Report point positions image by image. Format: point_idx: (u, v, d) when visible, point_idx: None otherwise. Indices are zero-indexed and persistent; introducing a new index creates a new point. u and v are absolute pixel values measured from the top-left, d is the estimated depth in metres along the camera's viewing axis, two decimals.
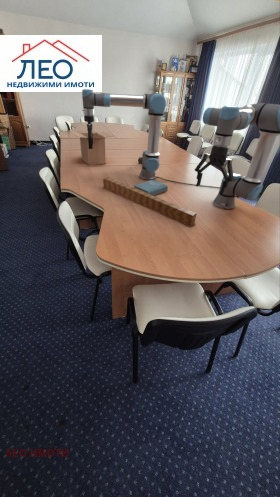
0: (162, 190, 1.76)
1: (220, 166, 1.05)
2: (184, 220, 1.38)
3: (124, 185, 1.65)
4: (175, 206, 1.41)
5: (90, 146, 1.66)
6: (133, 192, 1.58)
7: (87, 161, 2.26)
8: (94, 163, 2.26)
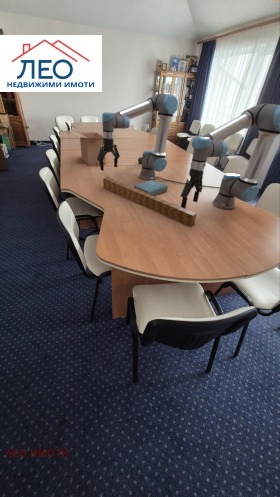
0: (162, 190, 1.76)
1: (199, 183, 1.27)
2: (184, 220, 1.38)
3: (124, 185, 1.65)
4: (175, 206, 1.41)
5: None
6: (133, 192, 1.58)
7: (87, 161, 2.26)
8: (94, 163, 2.26)
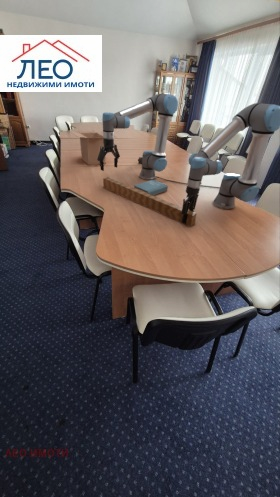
0: (162, 190, 1.76)
1: (194, 201, 1.32)
2: None
3: (124, 185, 1.65)
4: (175, 206, 1.41)
5: None
6: (133, 192, 1.58)
7: (87, 161, 2.26)
8: (94, 163, 2.26)
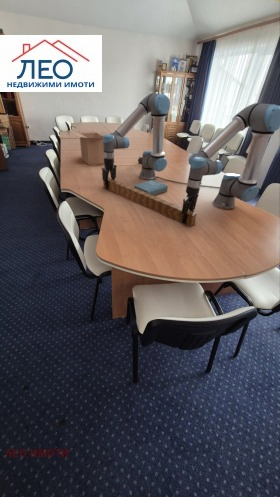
0: (162, 190, 1.76)
1: (194, 201, 1.32)
2: None
3: (124, 185, 1.65)
4: (175, 206, 1.41)
5: None
6: (133, 192, 1.58)
7: (87, 161, 2.26)
8: (94, 163, 2.26)
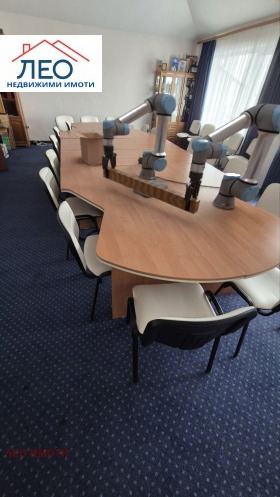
0: None
1: (197, 187, 1.27)
2: None
3: (124, 173, 1.60)
4: (177, 193, 1.36)
5: None
6: (134, 180, 1.53)
7: (87, 161, 2.26)
8: (94, 163, 2.26)
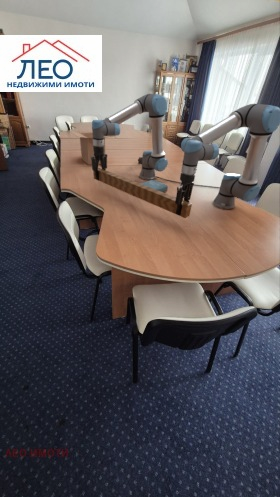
0: (162, 190, 1.76)
1: (189, 190, 1.21)
2: None
3: (115, 175, 1.53)
4: (169, 196, 1.30)
5: None
6: (124, 182, 1.47)
7: (87, 161, 2.26)
8: None
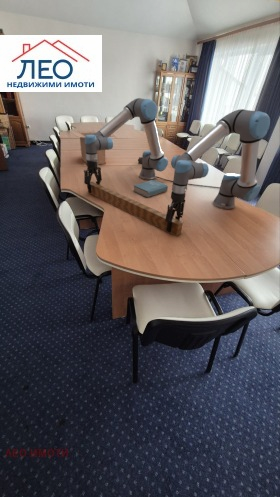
0: (162, 190, 1.76)
1: (180, 207, 1.22)
2: None
3: (108, 190, 1.55)
4: (160, 214, 1.31)
5: None
6: (117, 198, 1.48)
7: None
8: None
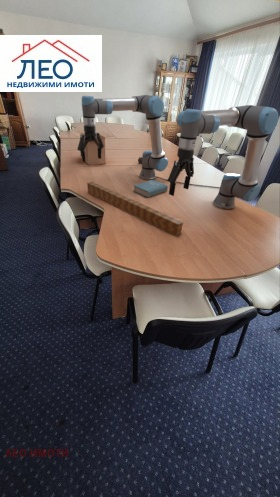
0: (162, 190, 1.76)
1: (189, 166, 1.09)
2: (170, 229, 1.28)
3: (108, 190, 1.55)
4: (160, 214, 1.31)
5: None
6: (117, 198, 1.48)
7: (87, 161, 2.26)
8: (94, 163, 2.26)
